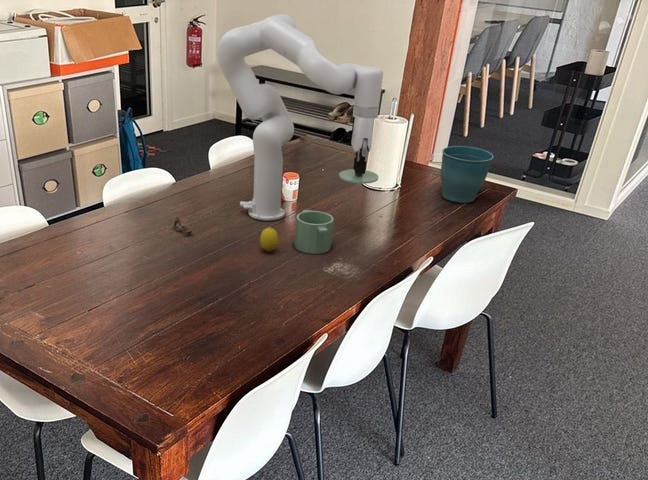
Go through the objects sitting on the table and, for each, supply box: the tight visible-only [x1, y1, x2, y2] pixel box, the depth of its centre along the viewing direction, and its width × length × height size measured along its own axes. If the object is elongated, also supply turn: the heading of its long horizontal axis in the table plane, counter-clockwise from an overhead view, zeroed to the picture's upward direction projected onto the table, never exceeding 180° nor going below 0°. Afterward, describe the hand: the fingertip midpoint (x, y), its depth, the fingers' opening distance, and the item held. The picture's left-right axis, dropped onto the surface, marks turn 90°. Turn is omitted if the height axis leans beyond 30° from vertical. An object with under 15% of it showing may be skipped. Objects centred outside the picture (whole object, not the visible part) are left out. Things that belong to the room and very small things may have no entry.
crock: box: [294, 209, 335, 255], centre depth 212 cm, size 11×17×10 cm
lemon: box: [259, 226, 279, 253], centre depth 208 cm, size 6×6×8 cm
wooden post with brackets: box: [172, 215, 192, 237], centre depth 220 cm, size 2×8×4 cm, turn 44°
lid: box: [338, 159, 379, 185], centre depth 214 cm, size 12×12×6 cm
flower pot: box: [440, 145, 495, 204], centre depth 252 cm, size 18×18×17 cm
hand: (359, 171), depth 215 cm, fingers closed on lid, 2 cm apart
